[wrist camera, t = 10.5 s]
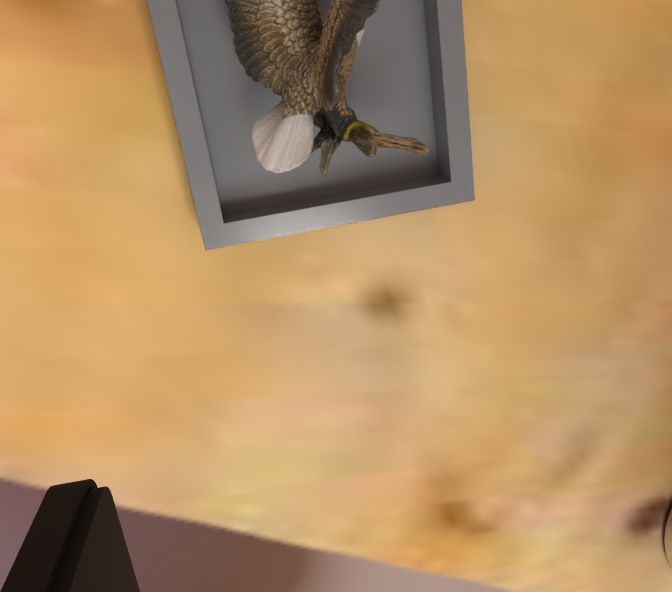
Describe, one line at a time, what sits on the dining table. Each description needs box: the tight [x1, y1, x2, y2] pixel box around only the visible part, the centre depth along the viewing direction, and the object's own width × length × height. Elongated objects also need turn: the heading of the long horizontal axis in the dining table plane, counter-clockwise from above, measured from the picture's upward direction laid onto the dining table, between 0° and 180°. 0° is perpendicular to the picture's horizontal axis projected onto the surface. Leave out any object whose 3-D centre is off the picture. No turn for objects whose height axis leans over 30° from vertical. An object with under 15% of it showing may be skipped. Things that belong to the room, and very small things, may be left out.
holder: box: [147, 0, 475, 250], centre depth 26 cm, size 12×13×2 cm
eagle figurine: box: [225, 0, 430, 175], centre depth 23 cm, size 8×7×9 cm
